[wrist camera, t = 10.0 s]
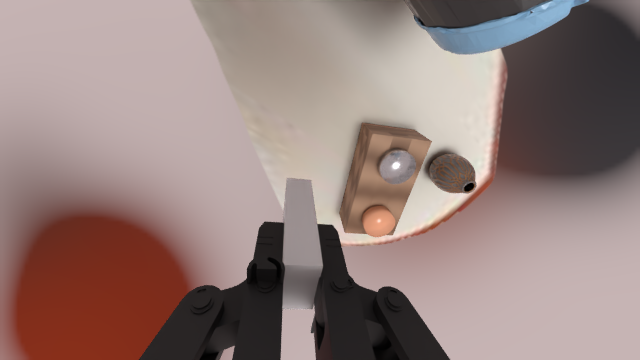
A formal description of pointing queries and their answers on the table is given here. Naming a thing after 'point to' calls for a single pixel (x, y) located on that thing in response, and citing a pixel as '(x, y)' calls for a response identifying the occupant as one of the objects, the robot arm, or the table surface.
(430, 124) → the table surface
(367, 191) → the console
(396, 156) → the grey plunger
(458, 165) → the vase
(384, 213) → the terracotta plunger
